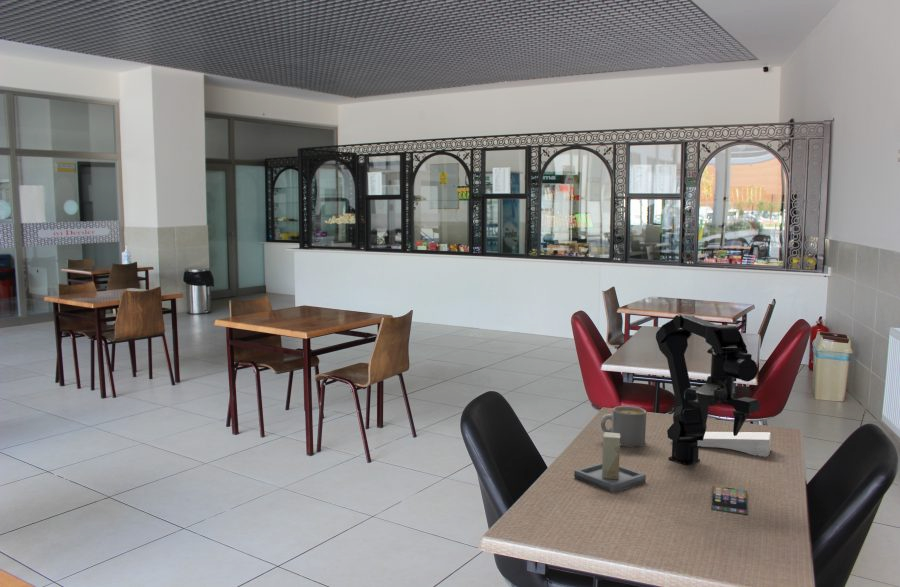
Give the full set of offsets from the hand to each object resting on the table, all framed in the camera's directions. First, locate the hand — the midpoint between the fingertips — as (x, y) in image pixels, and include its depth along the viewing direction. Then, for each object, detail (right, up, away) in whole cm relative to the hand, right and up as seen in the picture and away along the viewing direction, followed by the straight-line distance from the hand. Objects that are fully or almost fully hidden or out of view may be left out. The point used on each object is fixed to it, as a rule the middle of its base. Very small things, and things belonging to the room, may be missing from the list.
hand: (719, 431), depth 190 cm
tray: (-29, -13, -1) cm, 32 cm away
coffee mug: (-17, -10, +33) cm, 39 cm away
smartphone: (-3, -15, -14) cm, 21 cm away
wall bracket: (+11, -11, +30) cm, 34 cm away
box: (-29, -12, -1) cm, 31 cm away
